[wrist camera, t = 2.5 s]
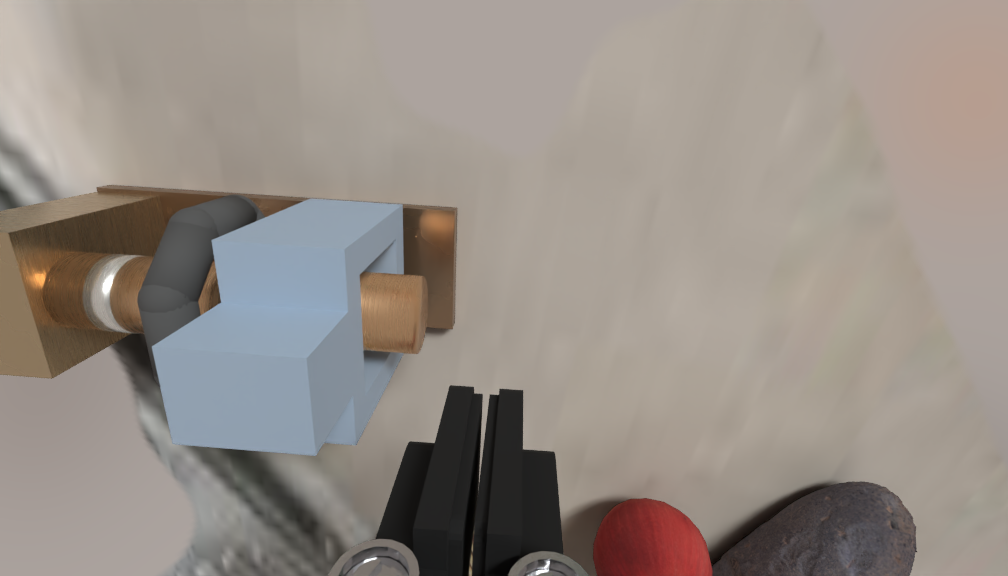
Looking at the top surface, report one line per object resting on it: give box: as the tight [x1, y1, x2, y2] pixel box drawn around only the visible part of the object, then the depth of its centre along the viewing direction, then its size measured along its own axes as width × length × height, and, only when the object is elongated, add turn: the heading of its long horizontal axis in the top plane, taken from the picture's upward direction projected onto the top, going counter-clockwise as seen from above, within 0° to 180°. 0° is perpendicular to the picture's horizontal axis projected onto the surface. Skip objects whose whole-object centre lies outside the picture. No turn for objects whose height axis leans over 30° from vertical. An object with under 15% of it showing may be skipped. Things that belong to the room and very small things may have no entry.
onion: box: [593, 498, 713, 576], centre depth 25 cm, size 6×6×8 cm
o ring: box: [137, 194, 265, 387], centre depth 19 cm, size 2×8×8 cm, turn 177°
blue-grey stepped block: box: [152, 198, 404, 456], centre depth 18 cm, size 4×7×10 cm, turn 177°
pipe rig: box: [0, 185, 457, 379], centre depth 21 cm, size 17×6×8 cm, turn 87°
